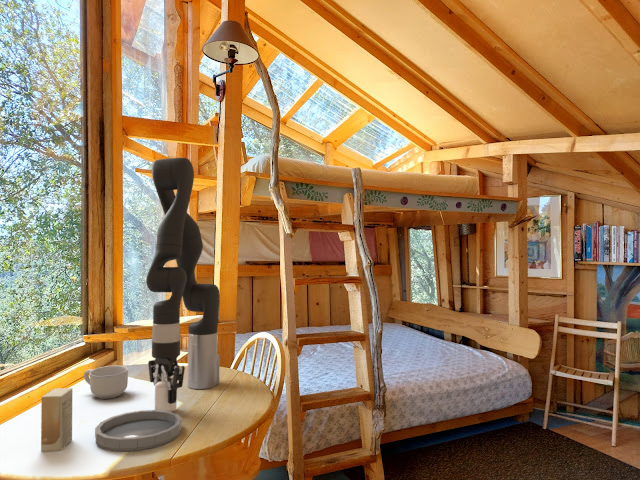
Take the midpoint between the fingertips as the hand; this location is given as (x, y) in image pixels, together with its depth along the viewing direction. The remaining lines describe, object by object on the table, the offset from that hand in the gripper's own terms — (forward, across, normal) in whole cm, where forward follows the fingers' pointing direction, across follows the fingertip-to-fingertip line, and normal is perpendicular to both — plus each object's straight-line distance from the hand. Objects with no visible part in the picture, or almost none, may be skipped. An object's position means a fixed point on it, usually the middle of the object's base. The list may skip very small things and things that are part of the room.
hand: (165, 400), depth 131 cm
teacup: (+3, +27, +3) cm, 27 cm away
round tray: (+3, -10, +14) cm, 17 cm away
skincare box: (+3, -1, +29) cm, 29 cm away
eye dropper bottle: (+3, 0, 0) cm, 3 cm away
